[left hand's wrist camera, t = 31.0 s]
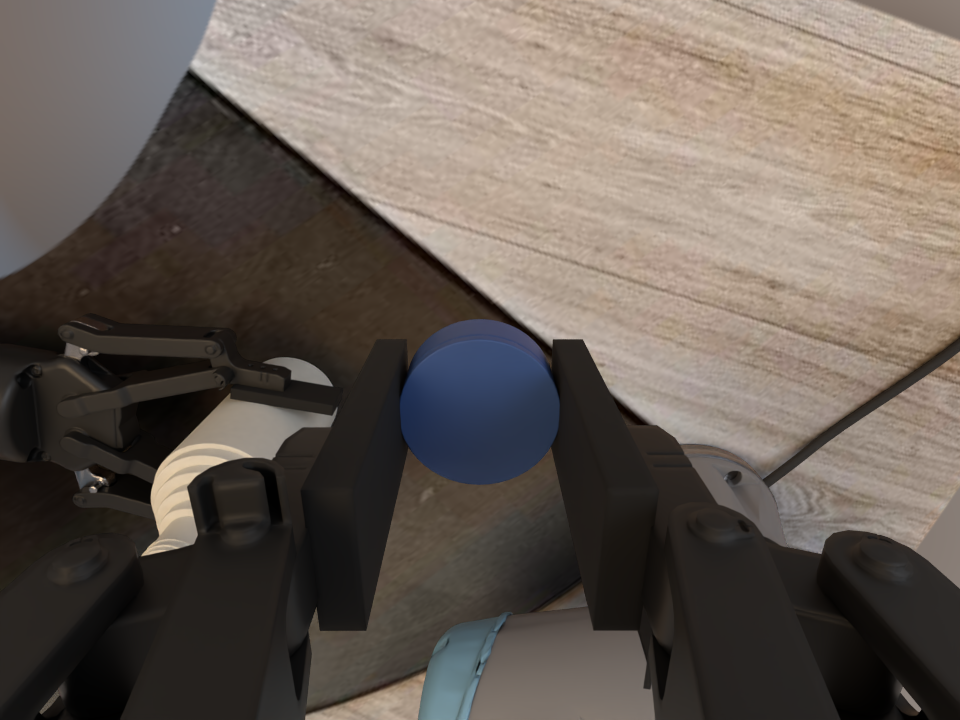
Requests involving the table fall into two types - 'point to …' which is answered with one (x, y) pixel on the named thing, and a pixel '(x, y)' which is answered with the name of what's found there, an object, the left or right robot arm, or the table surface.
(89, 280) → the table surface
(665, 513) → the left robot arm
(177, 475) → the bottle
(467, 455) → the cap
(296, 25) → the table surface
